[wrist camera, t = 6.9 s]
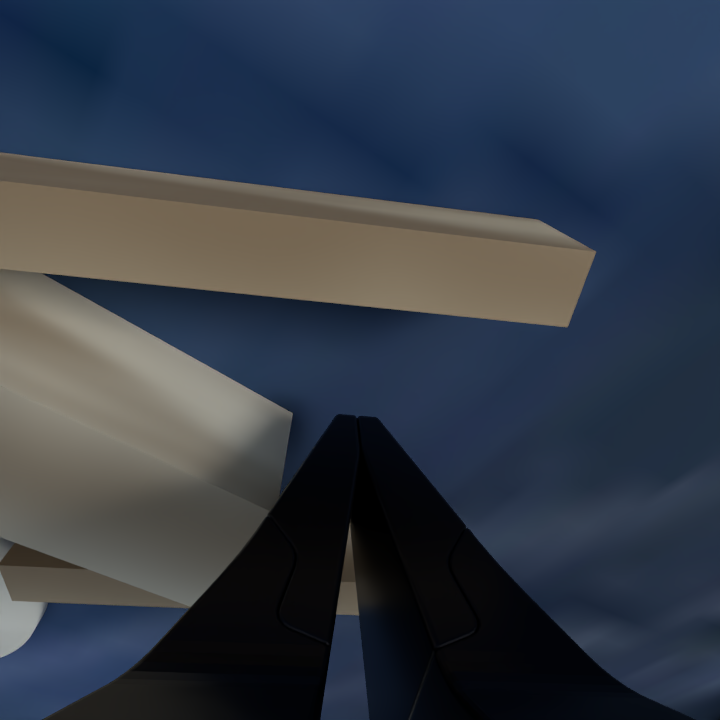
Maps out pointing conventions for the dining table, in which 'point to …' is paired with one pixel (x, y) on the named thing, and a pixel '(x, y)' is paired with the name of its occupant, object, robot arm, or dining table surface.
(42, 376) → the beige rectangular block
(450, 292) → the channel
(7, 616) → the white flat disc
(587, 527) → the dining table surface
